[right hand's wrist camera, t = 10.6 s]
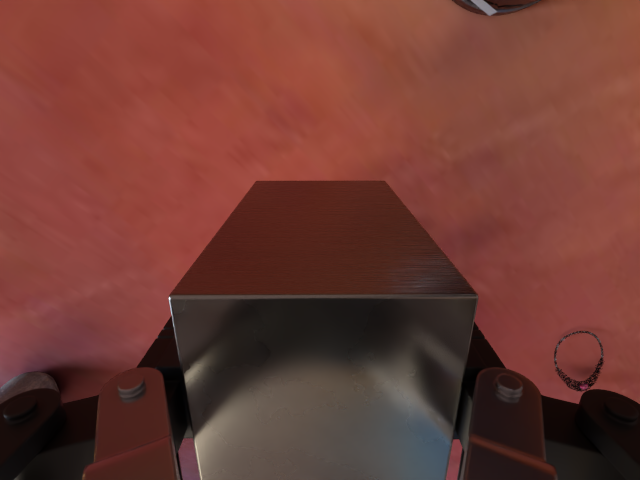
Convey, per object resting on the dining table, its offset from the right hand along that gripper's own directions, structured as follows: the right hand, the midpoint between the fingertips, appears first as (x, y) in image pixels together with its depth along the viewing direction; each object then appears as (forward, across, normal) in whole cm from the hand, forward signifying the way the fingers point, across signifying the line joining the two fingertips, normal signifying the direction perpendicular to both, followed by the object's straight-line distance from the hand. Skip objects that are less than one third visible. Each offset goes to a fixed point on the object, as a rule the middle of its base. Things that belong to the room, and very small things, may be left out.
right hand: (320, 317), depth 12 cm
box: (+7, 0, +10) cm, 12 cm away
